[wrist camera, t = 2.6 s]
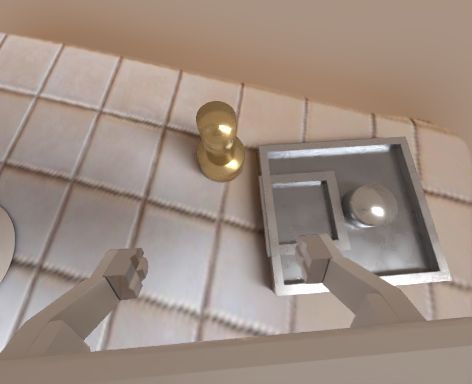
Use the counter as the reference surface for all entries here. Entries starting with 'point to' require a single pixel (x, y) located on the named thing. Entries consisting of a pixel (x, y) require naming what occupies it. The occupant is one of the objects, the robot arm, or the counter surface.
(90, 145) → the counter surface
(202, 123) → the gold peg with base
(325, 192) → the tray
